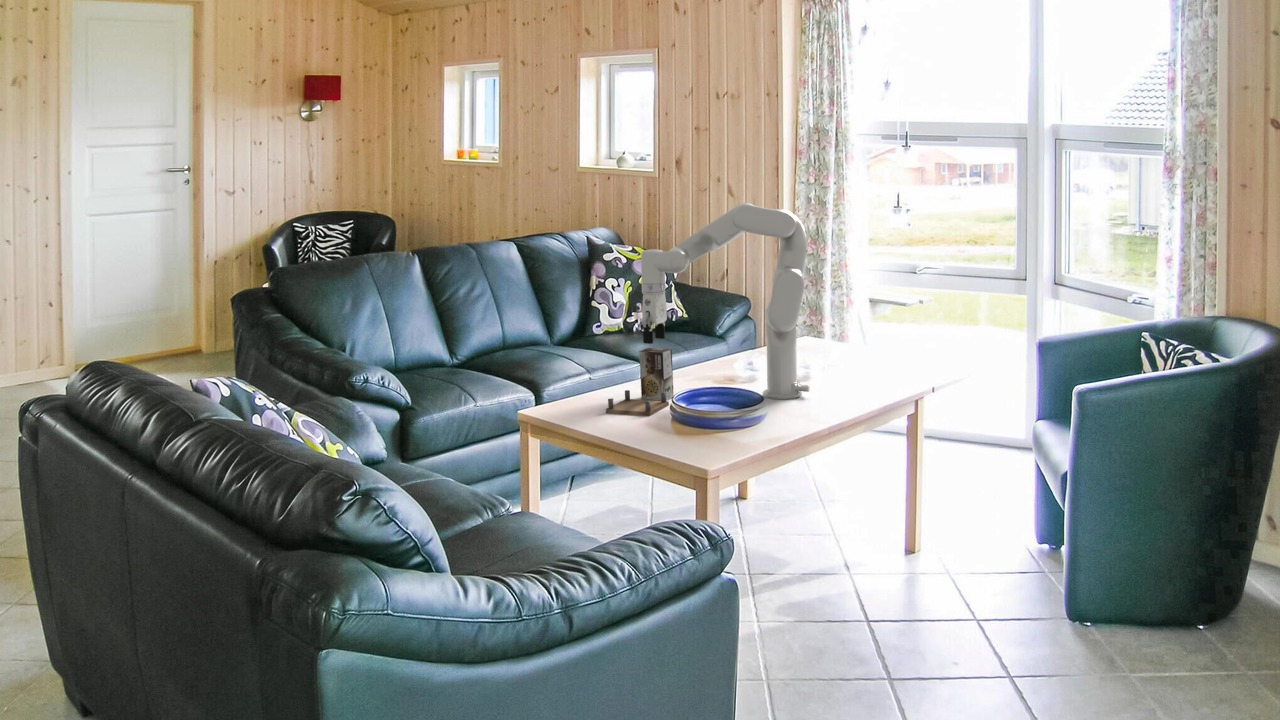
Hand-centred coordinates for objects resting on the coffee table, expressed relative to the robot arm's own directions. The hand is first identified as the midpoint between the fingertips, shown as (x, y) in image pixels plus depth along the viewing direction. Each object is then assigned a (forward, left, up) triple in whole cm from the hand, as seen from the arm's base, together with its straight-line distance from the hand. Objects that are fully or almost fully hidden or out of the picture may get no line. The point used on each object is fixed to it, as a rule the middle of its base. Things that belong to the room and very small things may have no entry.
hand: (654, 340), depth 390 cm
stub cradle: (0, +16, -19) cm, 25 cm away
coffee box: (0, 0, -19) cm, 19 cm away
